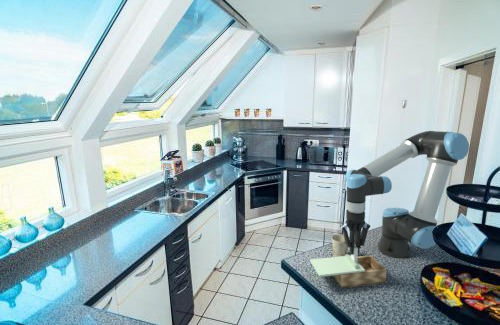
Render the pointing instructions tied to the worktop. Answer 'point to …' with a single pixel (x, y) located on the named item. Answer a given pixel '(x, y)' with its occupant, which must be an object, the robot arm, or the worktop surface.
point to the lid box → (363, 274)
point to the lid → (336, 266)
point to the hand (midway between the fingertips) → (354, 260)
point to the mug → (339, 245)
